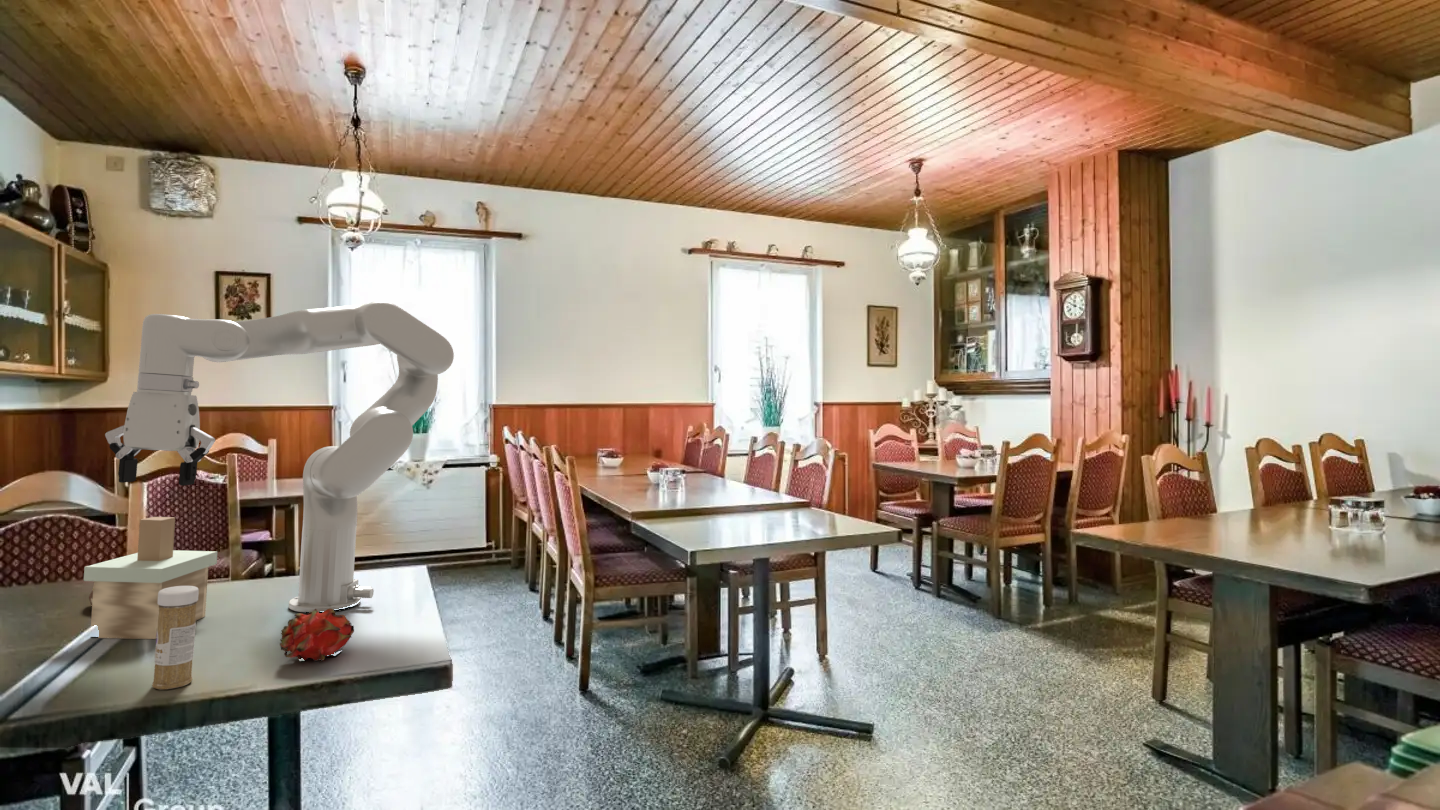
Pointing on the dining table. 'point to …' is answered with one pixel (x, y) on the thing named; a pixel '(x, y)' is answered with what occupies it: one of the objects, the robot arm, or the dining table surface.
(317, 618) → the dragon fruit
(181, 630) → the sprinkles bottle
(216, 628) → the dining table surface
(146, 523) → the lid
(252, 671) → the dining table surface
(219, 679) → the dining table surface
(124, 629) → the pine box
